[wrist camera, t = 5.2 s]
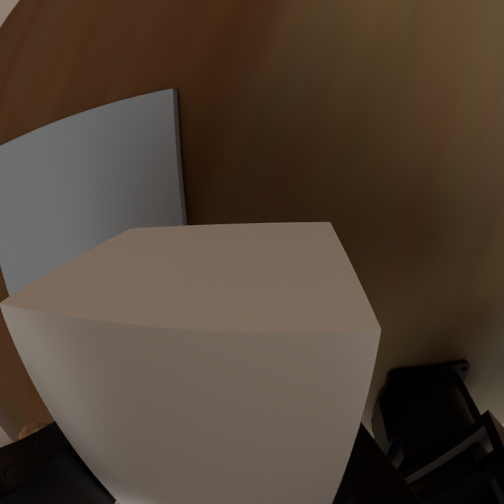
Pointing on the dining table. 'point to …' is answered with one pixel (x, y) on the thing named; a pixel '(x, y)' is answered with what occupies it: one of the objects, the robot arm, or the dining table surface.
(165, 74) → the dining table surface
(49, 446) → the robot arm
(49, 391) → the beige rectangular block
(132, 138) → the mat
